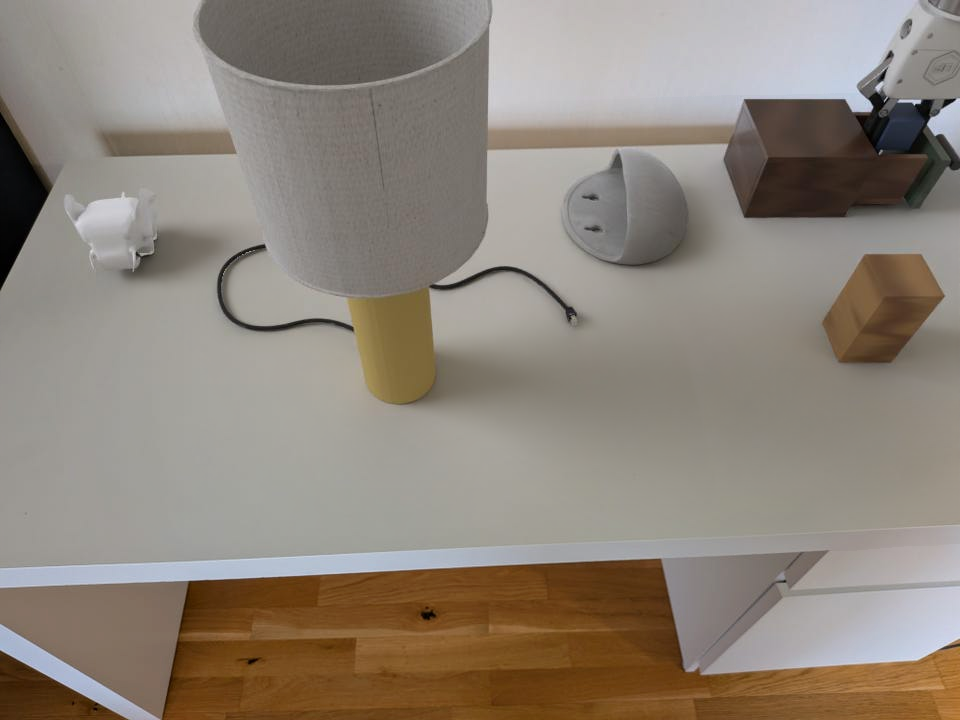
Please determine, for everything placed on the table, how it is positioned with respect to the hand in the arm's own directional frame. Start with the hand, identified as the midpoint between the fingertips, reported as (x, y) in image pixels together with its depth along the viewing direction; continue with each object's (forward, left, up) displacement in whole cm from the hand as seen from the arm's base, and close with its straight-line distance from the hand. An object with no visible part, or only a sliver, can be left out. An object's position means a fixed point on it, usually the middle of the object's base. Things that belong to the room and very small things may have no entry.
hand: (888, 137), depth 88 cm
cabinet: (+8, +7, -8) cm, 14 cm away
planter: (+21, +27, -8) cm, 36 cm away
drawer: (-1, -1, -7) cm, 7 cm away
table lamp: (+31, +60, -8) cm, 68 cm away
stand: (-11, +27, -8) cm, 30 cm away
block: (0, 0, -1) cm, 1 cm away
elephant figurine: (+64, +74, -8) cm, 99 cm away
